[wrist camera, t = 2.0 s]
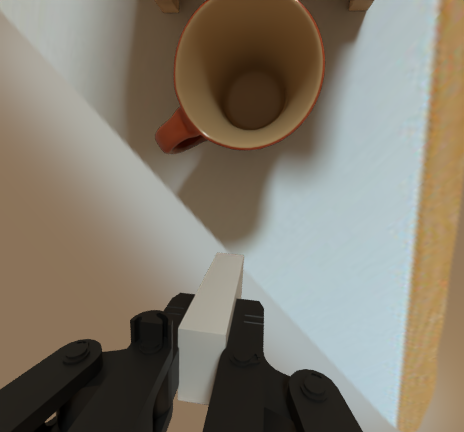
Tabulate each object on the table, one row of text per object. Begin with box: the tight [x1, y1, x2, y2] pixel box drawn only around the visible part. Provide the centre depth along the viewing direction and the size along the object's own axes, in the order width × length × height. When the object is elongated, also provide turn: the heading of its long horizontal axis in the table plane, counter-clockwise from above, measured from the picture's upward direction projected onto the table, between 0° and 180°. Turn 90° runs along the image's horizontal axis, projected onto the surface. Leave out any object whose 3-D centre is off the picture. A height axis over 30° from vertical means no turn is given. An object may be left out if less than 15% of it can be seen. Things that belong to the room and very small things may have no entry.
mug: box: [155, 0, 325, 154], centre depth 20 cm, size 12×9×10 cm
